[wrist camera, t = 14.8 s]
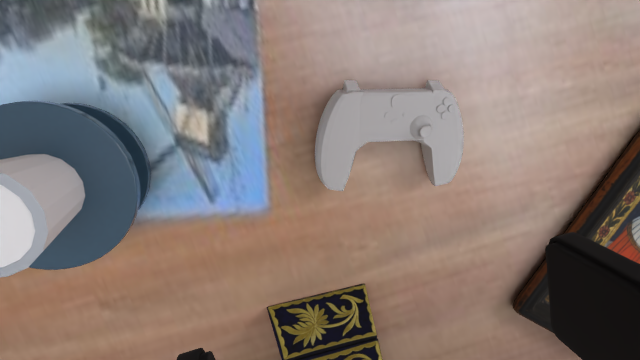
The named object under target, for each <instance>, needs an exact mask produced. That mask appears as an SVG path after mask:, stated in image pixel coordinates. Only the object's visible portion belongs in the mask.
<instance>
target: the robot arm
mask: <svg viewBox="0 0 640 360" xmlns="http://www.w3.org/2000/svg"><path fill="white" fill-rule="evenodd" d="M546 263H547V277H548V290H549V303H550V316H551V326H552V329H553V331H554V333H555V335H556V336H557V337H558V338H559V340H561V341H562V342H563V343H564V344H565V345H566V346H568V347H569V348H570V349H571V350H572V351H573V352H574V353H576V354H577V355H578V356H579V357H580V358H581V359H582V360H640V264H639V263H637V262H635V261H633V260H631V259H629V258H627V257H625V256H622V255H620V254H618V253H616V252H614V251H612V250H610V249H608V248H606V247H604V246H602V245H600V244H598V243H596V242H594V241H592V240H590V239H588V238H586V237H584V236H582V235H580V234H578V233H575V232H569V233H566V234H563V235H560V236H557V237H553V238H552V239H550V242H549V245H547V246H546ZM177 360H215V358H214V355H213V353H212V352H211V351H209V352H206V353H205V351H204V350H203V348H198V349H195V350H192V351H189V352H186V353H182V354H180V355H178V357H177Z"/></svg>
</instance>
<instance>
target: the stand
mask: <svg viewBox="0 0 640 360" xmlns="http://www.w3.org/2000/svg"><path fill="white" fill-rule="evenodd" d="M30 154H46V155H50V156H53V157H56V158H59V159H62V160H63V161H64V162H66V163H67V164H68V165H70V166H71V167H72V168H74V169H75V171H76V172H77V174H78V175H79V177H80V178H81V180H82V181H83V186H84V191H85V199H84V202H83V206H82V209H81V210H80V211H79V212H78V213H77V214H76V216H75V217H74V218H73V219H72V220H71V221H70V222H69V223H68V224H67V225H66V227H65V228H64V229H63V230H62V231H61V232H60V233H59V234H58V235H57V236H56V238H55V239H54V240H53V241H52V242H51V243H50V244H49V245H48V246H47V247H46V249H45V250H44V251H43V252H42V253H41V254H40V255H39V256H38V257H37V258H36V260H35V261H34V262H33V263H32V264H31V265H30V266H29V267H30V268H36V269H45V270H58V269H67V268H73V267H77V266H81V265H84V264H87V263H90V262H92V261H94V260H96V259H98V258H100V257H102V256H103V255H105V254H106V253H108V252H109V251H111V250H112V249H113V248H114V247H115V246H116V245H117V244H118V243H119V242H120V241H121V240H122V239H123V237H124V236H125V235H126V234H127V233H128V231H129V229H130V228H131V226H132V225H133V223H134V220H135V218H136V216H137V212H138V210H139V209H140V208H141V206H142V204H143V203H144V201H145V199H146V197H147V194H148V191H149V187H150V180H151V171H150V164H149V160H148V157H147V153H146V151H145V149H144V147H143V145H142V143H141V142H140V140H139V139H138V137H137V136H136V135H135V133H134V132H133V131H132V130H131V129H130V128H129V127H128V126H127V125H126V124H125V123H124V122H122V121H121V120H120V119H118V118H117V117H115V116H113V115H112V114H110V113H108V112H106V111H104V110H102V109H99V108H96V107H93V106H90V105H85V104H79V103H53V102H46V101H22V102H14V103H9V104H3V105H0V160H1V159H7V158H12V157H18V156H23V155H30Z"/></svg>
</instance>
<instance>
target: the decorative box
mask: <svg viewBox="0 0 640 360" xmlns="http://www.w3.org/2000/svg"><path fill="white" fill-rule="evenodd" d="M267 310H268V313H269V317H270V320H271V324H272V327H273V331H274V334H275V338H276V341H277V345H278V348H279V352H280V355H281V359H282V360H382V356H381V351H380V347H379V343H378V339H377V334H376V330H375V326H374V322H373V317H372V313H371V309H370V305H369V300H368V296H367V292H366V287H365V284H361V285H357V286H352V287H348V288H344V289H340V290H336V291H332V292H328V293H324V294H320V295H315V296H311V297H307V298H303V299H299V300H295V301H291V302H287V303H283V304H278V305H274V306H270V307H267Z"/></svg>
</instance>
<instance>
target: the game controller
mask: <svg viewBox="0 0 640 360" xmlns="http://www.w3.org/2000/svg"><path fill="white" fill-rule="evenodd" d="M406 140H415V141H417V142H419V143H421V147H422V153H423V158H424V163H425V167H426V170H427V174H428V177H429V179H430V181H431V183H432V184H433V185H434V186H438V185H442V184H446V183H449V182H450V181H451V180H452V179H453V178H454V176H455V174H456V172H457V170H458V167H459V165H460V162H461V158H462V154H463V146H464V131H463V123H462V118H461V114H460V110H459V107H458V104H457V101H456V99H455V97H454V95H453V94H452V93H451V92H450V91H449V90H447V89H444V88H443V86H442V85H441V83H440V82H439V81H438V80H428V81H427V83H426V87H425V88H404V89H360V88H359V86H358V83H357V81H356V80H344V84H343V89H340V90H337V91H336V92H335V93H334V94H333V95H332V97H331V98H330V100H329V101H328V103H327V105H326V107H325V109H324V111H323V114H322V116H321V119H320V122H319V126H318V130H317V135H316V142H315V164H316V169H317V173H318V176H319V178H320V180H321V182H322V183H323V184H324V185H325V186H326V187H327V188H328V189H330V190H338V191H343V190H344V188H345V185H346V182H347V180H348V177H349V174H350V171H351V168H352V164H353V161H354V157H355V153H356V151H357V150H358V149H359V148H361V147H362V146H363V145H365V144H366V143H367V142H380V141H406Z"/></svg>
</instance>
